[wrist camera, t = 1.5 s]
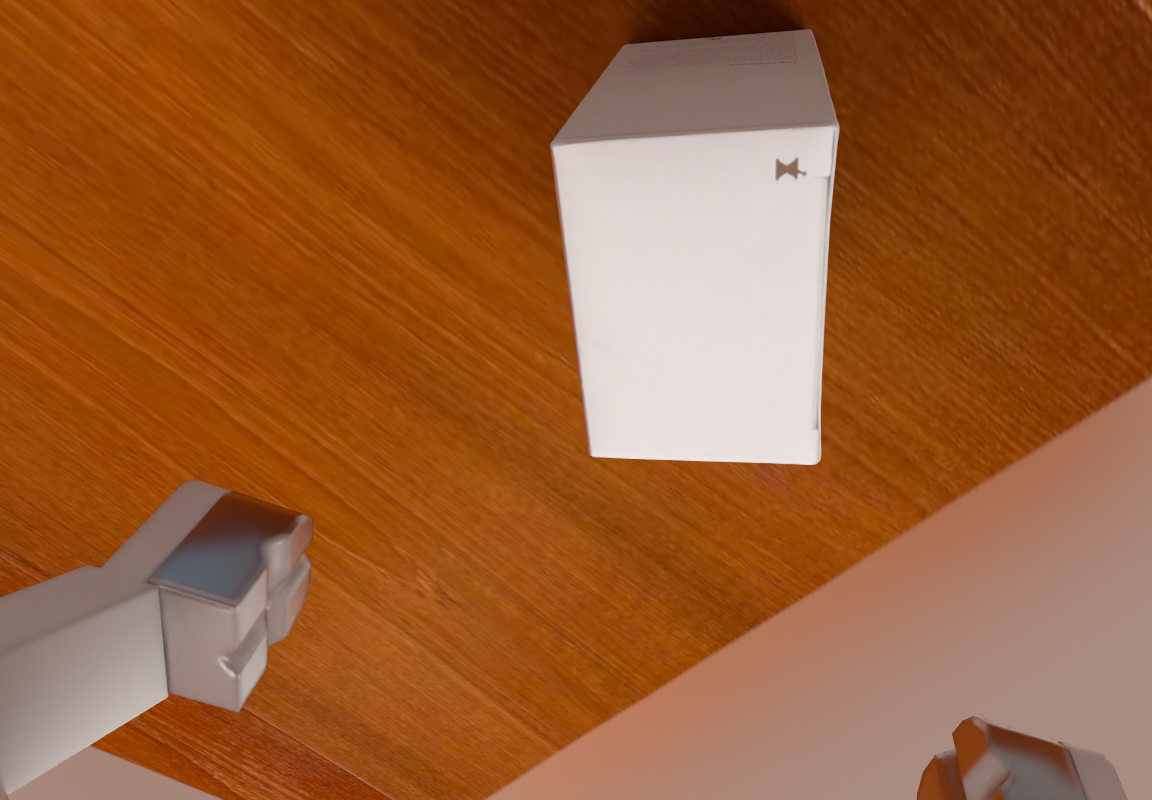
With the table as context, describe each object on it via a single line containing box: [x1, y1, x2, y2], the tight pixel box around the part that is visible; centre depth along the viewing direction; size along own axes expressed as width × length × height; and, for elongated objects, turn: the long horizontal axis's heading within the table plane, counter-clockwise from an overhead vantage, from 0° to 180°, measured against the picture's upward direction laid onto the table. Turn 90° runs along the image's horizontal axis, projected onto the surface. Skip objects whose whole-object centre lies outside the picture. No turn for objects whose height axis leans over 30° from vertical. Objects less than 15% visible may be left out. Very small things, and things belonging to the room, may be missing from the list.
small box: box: [550, 29, 839, 465], centre depth 22 cm, size 8×6×10 cm
